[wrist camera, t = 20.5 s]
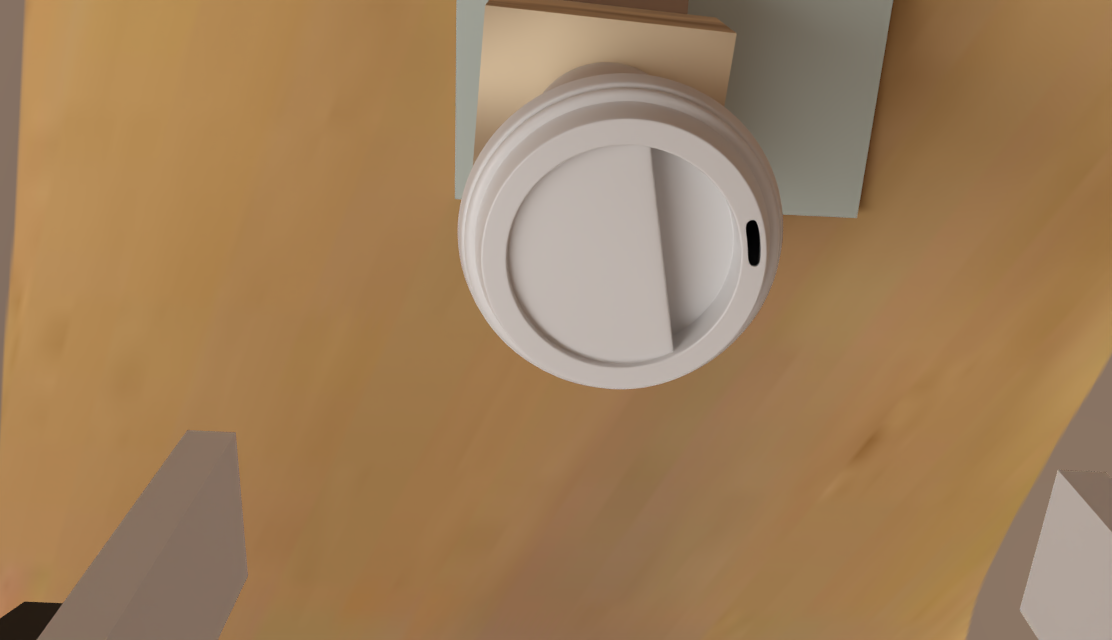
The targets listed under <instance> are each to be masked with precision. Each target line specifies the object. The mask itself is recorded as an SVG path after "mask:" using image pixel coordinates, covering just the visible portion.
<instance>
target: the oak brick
mask: <svg viewBox="0 0 1112 640" xmlns="http://www.w3.org/2000/svg"><path fill="white" fill-rule="evenodd" d="M736 35H737V33H736V32H734V31H733V30H732V29H730V28H729V27H728V26H726V25H725V24H724V23H723V22H721V21H720V20H719V19H717V18H716V17H707V16H699V15H690V14H681V13H672V12H663V11H654V10H645V9H637V8H628V7H619V6H610V5H601V4H592V3H583V2H575V1H566V0H489V1H488V2H487V3H486V5H485V13H484V26H483V39H482V52H481V65H480V78H479V91H478V104H477V117H476V130H475V143H474V156H473V165H474V163H475V161H476V159H477V157H478V156H479V154H480V152H481V151H482V149H483V148H484V146H485V145H486V143H487V142H488V140H489V139H490V138H491V137H492V135H493V134H494V133H495V132H496V131H497V129H498V128H499V127H500V126H501V125H502V124H503V123H504V122H505V121H506V120H507V119H508V118H509V117H510V116H511V115H513V114H514V113H515V112H516V111H517V110H519V109H520V108H521V107H523V106H524V105H525V104H527V103H528V102H530V101H531V100H533V99H534V98H536V97H538V96H539V95H541V94H543V92H544V91H545V90H546V89H547V88H548V87H549V86H550V85H551V84H552V83H553V82H554V81H555V80H556V79H558V78H559V77H561V76H562V75H564V74H565V73H567V72H569V71H571V70H573V69H575V68H578V67H580V66H584V65H587V64H592V63H599V62H613V63H620V64H625V65H629V66H632V67H635V68H637V69H639V70H641V71H643V72H645V73H647V74H648V75H652V76H657V77H662V78H666V79H670V80H673V81H676V82H679V83H682V84H685V85H687V86H690V87H692V88H694V89H696V90H698V91H700V92H702V93H704V94H706V95H707V96H709V97H711V98H712V99H714V100H715V101H717V102H718V103H720V104H721V105H722V106H724V105H725V100H726V94H727V88H728V82H729V76H730V70H731V64H732V58H733V53H734V47H735V41H736Z"/></svg>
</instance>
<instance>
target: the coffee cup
mask: <svg viewBox="0 0 1112 640" xmlns="http://www.w3.org/2000/svg"><path fill="white" fill-rule="evenodd" d="M782 239H783V212H782V204H781V198H780V193H779V189H778V185H777V182H776V179H775V176H774V173H773V170H772V168H771V166H770V163H769V161H768V159H767V157H766V155H765V154H764V152H763V150H762V148H761V147H760V145H759V144H758V142H757V141H756V139H755V138H754V137H753V135H752V134H751V133H750V131H749V130H748V129H747V128H746V127H745V126H744V125H743V123H742V122H741V121H740V120H739V119H738V118H737V117H736V116H734V115H733V114H732V113H731V112H730V111H729V110H728V109H726V108H725V107H724V106H722V105H721V104H720V103H718V102H717V101H715V100H714V99H712V98H711V97H709V96H707V95H706V94H704V93H702V92H700V91H698V90H696V89H694V88H692V87H690V86H687V85H685V84H682V83H679V82H676V81H673V80H670V79H666V78H662V77H657V76H652V75H648V74H647V73H645V72H643V71H641V70H639V69H637V68H635V67H632V66H629V65H625V64H620V63H613V62H599V63H592V64H587V65H584V66H580V67H578V68H575V69H573V70H571V71H569V72H567V73H565V74H564V75H562V76H561V77H559V78H558V79H556V80H555V81H554V82H553V83H552V84H551V85H550V86H549V87H548V88H547V89H546V90H545V91H544V92H543V94H541V95H539V96H538V97H536V98H534V99H533V100H531V101H530V102H528V103H527V104H525V105H524V106H523V107H521V108H520V109H519V110H517V111H516V112H515V113H514V114H513V115H511V116H510V117H509V118H508V119H507V120H506V121H505V122H504V123H503V124H502V125H501V126H500V127H499V128H498V129H497V131H496V132H495V133H494V134H493V135H492V137H491V138H490V139H489V140H488V142H487V143H486V145H485V146H484V148H483V149H482V151H481V152H480V154H479V156H478V157H477V159H476V161H475V163H474V165H473V167H472V169H471V172H470V174H469V176H468V179H467V182H466V185H465V188H464V191H463V195H462V199H461V204H460V210H459V218H458V246H459V254H460V260H461V265H462V269H463V273H464V276H465V279H466V282H467V285H468V287H469V290H470V292H471V294H472V296H473V298H474V300H475V302H476V304H477V306H478V308H479V309H480V311H481V313H482V314H483V316H484V318H485V319H486V321H487V322H488V323H489V325H490V326H491V327H492V329H493V330H494V331H495V332H496V333H497V335H498V336H499V337H500V338H501V339H502V340H503V341H504V342H505V343H506V344H507V345H508V346H509V347H510V348H511V349H513V350H514V351H515V352H516V353H517V354H519V355H520V356H521V357H523V358H524V359H526V360H527V361H528V362H530V363H532V364H533V365H535V366H537V367H538V368H540V369H542V370H544V371H546V372H548V373H550V374H552V375H554V376H557V377H559V378H562V379H564V380H567V381H570V382H574V383H578V384H581V385H586V386H592V387H598V388H607V389H635V388H643V387H649V386H654V385H658V384H662V383H665V382H668V381H671V380H674V379H677V378H679V377H681V376H684V375H686V374H688V373H690V372H692V371H694V370H696V369H698V368H700V367H702V366H703V365H705V364H707V363H708V362H710V361H711V360H713V359H714V358H715V357H717V356H718V355H719V354H721V353H722V352H723V351H724V350H726V349H727V348H728V347H729V346H730V345H731V344H732V343H733V342H734V341H735V340H736V339H737V338H738V337H739V336H740V335H741V334H742V333H743V332H744V330H745V329H746V328H747V327H748V326H749V324H750V323H751V322H752V320H753V319H754V318H755V316H756V315H757V313H758V312H759V310H760V308H761V307H762V305H763V303H764V301H765V299H766V297H767V295H768V293H769V291H770V288H771V286H772V283H773V281H774V278H775V275H776V271H777V267H778V263H779V258H780V253H781V247H782Z"/></svg>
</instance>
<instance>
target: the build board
mask: <svg viewBox="0 0 1112 640" xmlns="http://www.w3.org/2000/svg"><path fill="white" fill-rule="evenodd" d="M488 1H489V0H457V15H456V135H455V199H462V195H463V191H464V188H465V185H466V182H467V179H468V176H469V174H470V172H471V169H472V167H473V156H474V143H475V130H476V117H477V104H478V91H479V78H480V65H481V52H482V39H483V26H484V13H485V5H486V3H487V2H488ZM892 4H893V0H689V2H688V13H687V14H690V15H699V16H707V17H716V18H717V19H719V20H720V21H721V22H723V23H724V24H725V25H726V26H728V27H729V28H730V29H732V30H733V31H734V32H736V33H737V35H736V41H735V47H734V53H733V58H732V64H731V70H730V76H729V82H728V88H727V94H726V100H725V105H724V107H725V108H726V109H728V110H729V111H730V112H731V113H732V114H733V115H734V116H736V117H737V118H738V119H739V120H740V121H741V122H742V123H743V125H744V126H745V127H746V128H747V129H748V130H749V131H750V133H751V134H752V135H753V137H754V138H755V139H756V141H757V142H758V144H759V145H760V147H761V148H762V150H763V152H764V154H765V155H766V157H767V159H768V161H769V163H770V166H771V168H772V170H773V173H774V176H775V179H776V182H777V185H778V189H779V193H780V198H781V204H782V212H783V214H784V215H805V216H826V217H847V218H857V214H858V208H859V202H860V196H861V190H862V184H863V178H864V172H865V166H866V160H867V154H868V148H869V142H870V136H871V130H872V124H873V118H874V112H875V106H876V100H877V94H878V88H879V82H880V76H881V70H882V64H883V58H884V52H885V46H886V40H887V34H888V28H889V22H890V16H891V10H892Z"/></svg>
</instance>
